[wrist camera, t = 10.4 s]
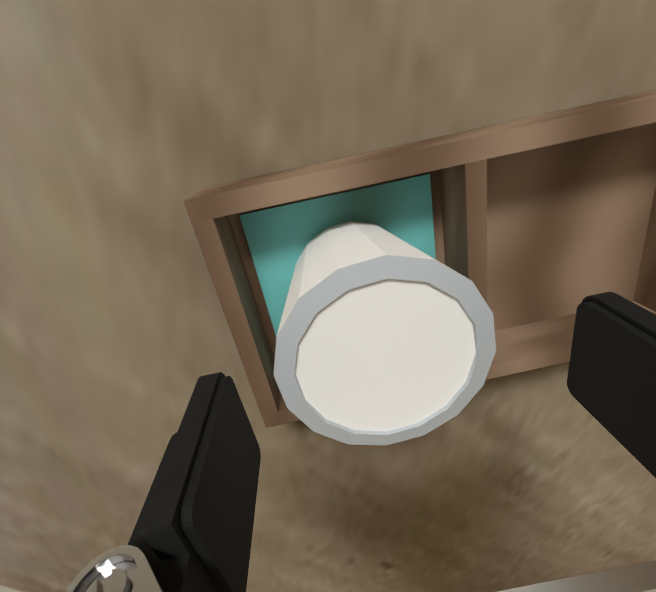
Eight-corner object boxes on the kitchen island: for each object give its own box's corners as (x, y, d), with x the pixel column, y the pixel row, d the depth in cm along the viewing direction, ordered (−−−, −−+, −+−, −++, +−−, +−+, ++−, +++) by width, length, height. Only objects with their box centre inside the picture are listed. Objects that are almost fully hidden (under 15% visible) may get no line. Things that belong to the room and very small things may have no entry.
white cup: (446, 232, 17) (542, 294, 10) (390, 353, 19) (439, 463, 13) (304, 185, 15) (313, 222, 9) (264, 323, 18) (247, 429, 11)
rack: (900, 36, 16) (1047, 13, 13) (803, 274, 21) (893, 299, 18) (204, 187, 16) (183, 201, 13) (272, 389, 21) (268, 435, 18)
